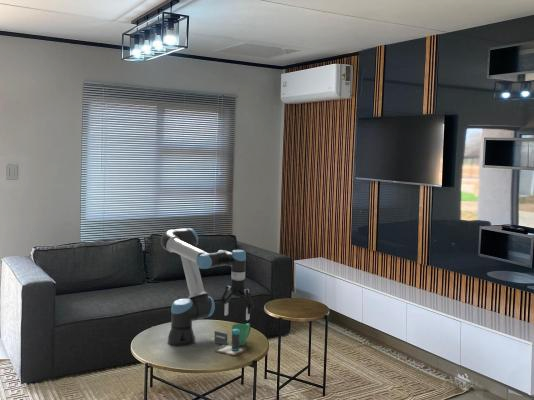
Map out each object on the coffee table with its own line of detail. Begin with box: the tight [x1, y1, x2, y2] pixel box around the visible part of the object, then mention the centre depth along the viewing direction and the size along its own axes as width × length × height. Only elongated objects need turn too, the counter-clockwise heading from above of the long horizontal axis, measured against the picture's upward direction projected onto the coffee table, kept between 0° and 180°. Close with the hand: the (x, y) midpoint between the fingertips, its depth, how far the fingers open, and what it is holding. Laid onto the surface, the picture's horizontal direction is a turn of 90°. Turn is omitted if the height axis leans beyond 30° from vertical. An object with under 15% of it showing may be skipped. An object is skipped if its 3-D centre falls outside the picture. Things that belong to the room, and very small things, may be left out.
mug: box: [231, 323, 252, 346], centre depth 322 cm, size 15×10×10 cm
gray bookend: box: [212, 330, 230, 345], centre depth 321 cm, size 8×3×6 cm, turn 62°
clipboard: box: [214, 344, 247, 358], centre depth 309 cm, size 13×11×1 cm
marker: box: [231, 328, 240, 351], centre depth 308 cm, size 4×4×11 cm
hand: (236, 317), depth 308 cm, fingers open, 13 cm apart
